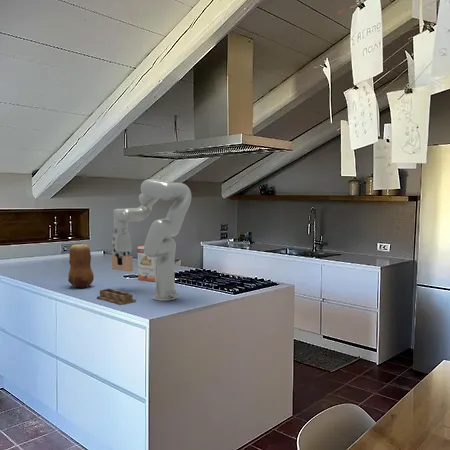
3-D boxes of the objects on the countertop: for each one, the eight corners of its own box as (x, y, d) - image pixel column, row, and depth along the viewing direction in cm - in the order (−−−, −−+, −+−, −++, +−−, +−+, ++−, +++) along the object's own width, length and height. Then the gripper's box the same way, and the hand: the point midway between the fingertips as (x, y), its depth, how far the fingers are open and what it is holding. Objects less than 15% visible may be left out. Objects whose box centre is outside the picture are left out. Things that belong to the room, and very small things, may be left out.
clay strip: (133, 271, 250) (132, 256, 249) (129, 271, 248) (128, 256, 247) (116, 268, 260) (115, 254, 260) (112, 269, 258) (111, 254, 258)
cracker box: (137, 279, 287) (136, 246, 285) (144, 278, 292) (143, 245, 290) (154, 282, 279) (153, 247, 277) (161, 280, 284) (160, 246, 282)
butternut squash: (87, 283, 275) (86, 242, 273) (97, 287, 265) (96, 244, 263) (64, 287, 266) (63, 244, 264) (74, 290, 256) (72, 246, 254)
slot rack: (135, 301, 230) (135, 293, 229) (120, 305, 223) (120, 296, 223) (111, 295, 244) (111, 287, 243) (96, 298, 237) (96, 290, 237)
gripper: (112, 232, 244) (113, 267, 245) (137, 230, 256) (138, 263, 257) (104, 231, 249) (105, 265, 250) (129, 229, 261) (130, 262, 262)
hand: (122, 264), depth 254 cm, fingers closed on clay strip, 2 cm apart
